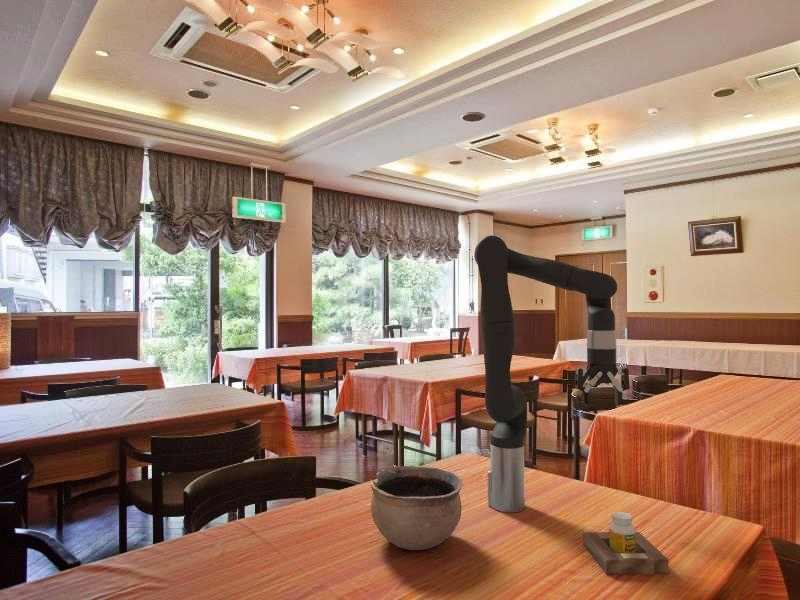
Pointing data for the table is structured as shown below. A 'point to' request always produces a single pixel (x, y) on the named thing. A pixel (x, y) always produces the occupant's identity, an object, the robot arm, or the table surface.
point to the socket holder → (625, 556)
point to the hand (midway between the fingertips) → (602, 405)
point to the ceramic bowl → (416, 505)
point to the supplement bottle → (622, 533)
